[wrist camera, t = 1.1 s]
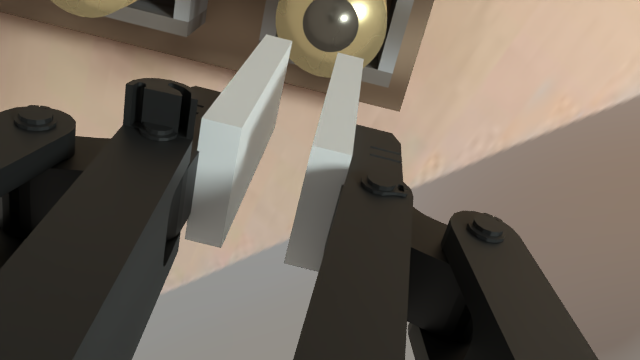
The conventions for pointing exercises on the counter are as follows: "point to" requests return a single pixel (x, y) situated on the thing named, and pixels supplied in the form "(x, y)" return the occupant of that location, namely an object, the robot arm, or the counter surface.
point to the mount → (242, 36)
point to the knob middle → (92, 6)
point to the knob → (331, 31)
